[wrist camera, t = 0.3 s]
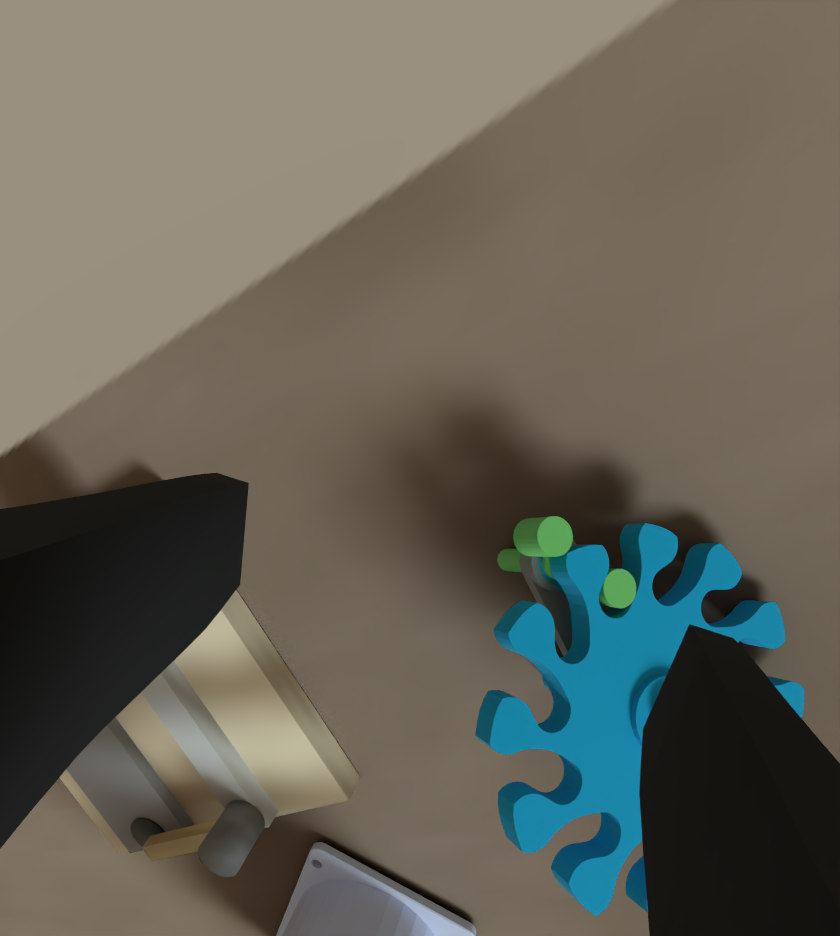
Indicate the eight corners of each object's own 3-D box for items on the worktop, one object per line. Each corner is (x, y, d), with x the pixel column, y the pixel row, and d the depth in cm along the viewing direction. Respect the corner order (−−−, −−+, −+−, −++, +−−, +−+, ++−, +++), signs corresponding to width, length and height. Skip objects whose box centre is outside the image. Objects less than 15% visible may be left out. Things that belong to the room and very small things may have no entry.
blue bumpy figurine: (875, 773, 18) (624, 1038, 14) (714, 720, 23) (505, 902, 20) (709, 425, 17) (406, 610, 14) (585, 455, 23) (347, 593, 19)
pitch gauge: (360, 777, 26) (318, 863, 23) (133, 832, 32) (73, 907, 29) (165, 483, 24) (84, 527, 20) (-39, 603, 30) (-129, 654, 26)
